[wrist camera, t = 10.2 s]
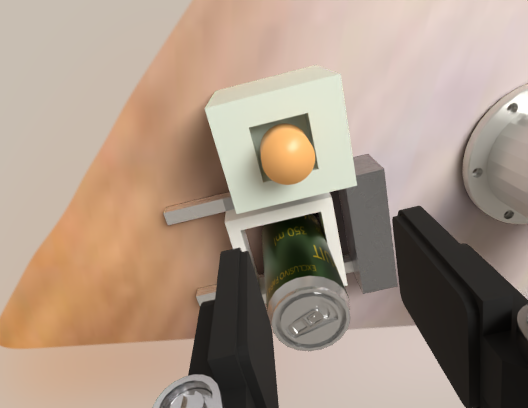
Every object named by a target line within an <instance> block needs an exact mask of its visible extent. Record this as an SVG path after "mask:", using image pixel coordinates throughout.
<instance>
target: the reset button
mask: <svg viewBox="0 0 528 408" xmlns="http://www.w3.org/2000/svg"><path fill="white" fill-rule="evenodd" d="M260 153H261V161H262V167H263V170H264V172H265V173H266V175H267V176H268V177H269V178H270V179H271V180H273V181H274V182H276V183H279V184H283V185H292V184H296V183H299V182H301V181H302V180H304V179H305V178H306V177H307V176H308V175H309V174H310V173H311V171H312V170H313V167H314V164H315V152H314V149H313V147H312V145H311V143H310V142H309V140H308V138H307V137H306V135H305V133H304V132H303V131H302V130H301V129H300V128H299V127H297V126H295V125H292V124H287V123H283V124H278V125H275V126H273V127H271V128H270V129H269V130H268V131H267V132H266V133H265V134H264V136H263V138H262V140H261V144H260Z"/></svg>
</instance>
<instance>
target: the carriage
mask: <svg viewBox="0 0 528 408" xmlns="http://www.w3.org/2000/svg"><path fill="white" fill-rule="evenodd" d="M222 200H223V203H224V206H225V209H226V215H225V225H226V228H227V231H228V235H229V238H230V241H231V244H232V247H233V249H235V248H239V247H240V248H241V250H242V252H244V251H248V252H249V254H250V257H251V261H252V264H253V267H254V270H255V274H256V277H257V280H258V284H259V287H260V290H261V294H262V297H263V300H264V304H266V290H265V277H262V278H259V276H258V272H257V269H256V266H255V262H254V259H253V256H252V252H251V249H250V246H249V242H248V239H247V236H246V232H245V229H248V228H253V227H257V226H261V225H265V224H270V223H274V222H278V221H283V220H287V219H291V218H295V217H300V216H304V215H308V214H312V213H317V212H318V213H319V218H320V223H321V228H322V231H323V234H324V236H325V239H326V241H327V244H328V247H329V249H330V252H331V254H332V257H333V259H334V262H335V264H336V267H337V269H338V272H339V275H340V277H341V280H342V282H343V285H344V286H347V285H348V284H347V279H346V273H345V268H344V262H343V257H342V251H341V246H340V240H339V235H338V229H337V224H336V218H335V213H334V207H333V202H332V197H331V195H330V193H329V192H328V193H324V194H319V195H315V196H311V197H307V198H303V199H298V200H294V201H290V202H286V203H282V204H277V205H273V206H269V207H265V208H261V209H256V210H252V211H248V212H244V213H240V214H236V211H235V207H234V204H233V201H232V197H231V196H228V197H224V198H223V199H222Z"/></svg>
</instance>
